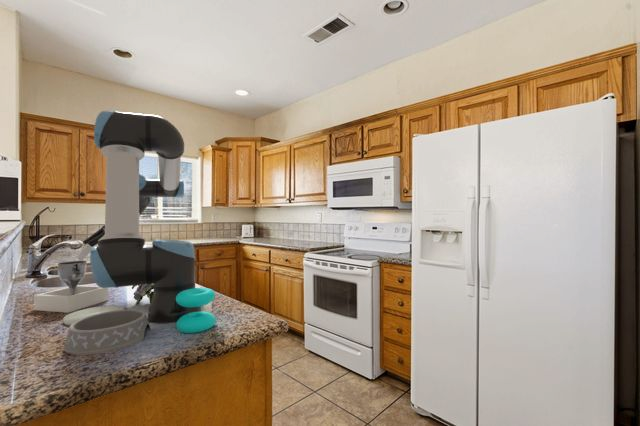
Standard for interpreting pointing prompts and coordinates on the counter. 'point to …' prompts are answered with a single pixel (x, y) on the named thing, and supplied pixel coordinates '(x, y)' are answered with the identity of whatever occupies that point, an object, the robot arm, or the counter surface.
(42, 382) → the counter surface
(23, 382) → the counter surface
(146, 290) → the passion flower
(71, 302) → the holder
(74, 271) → the wine glass
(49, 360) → the counter surface
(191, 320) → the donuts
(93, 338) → the dog bowl
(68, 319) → the plate
